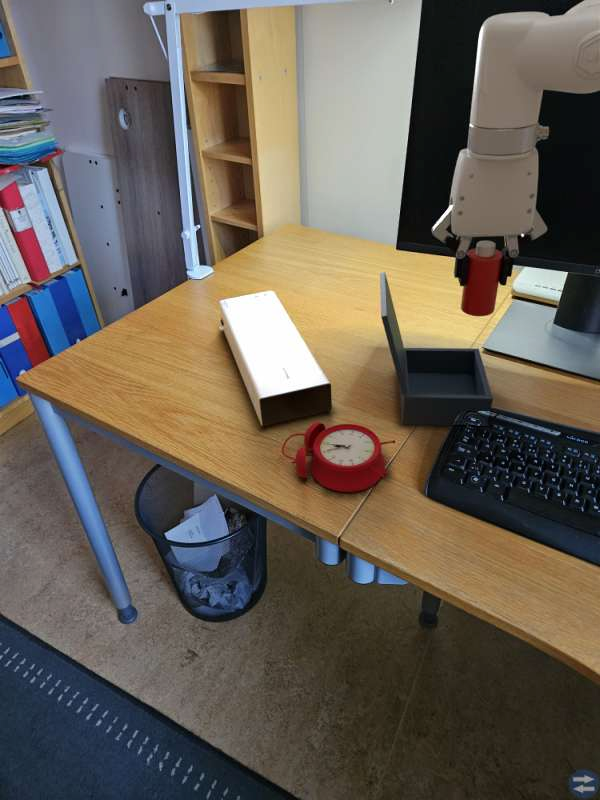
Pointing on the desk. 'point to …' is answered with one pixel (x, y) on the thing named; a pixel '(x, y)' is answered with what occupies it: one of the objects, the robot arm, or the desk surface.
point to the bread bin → (443, 385)
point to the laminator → (273, 359)
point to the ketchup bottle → (482, 279)
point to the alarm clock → (341, 456)
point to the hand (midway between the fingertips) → (481, 280)
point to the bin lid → (392, 332)
